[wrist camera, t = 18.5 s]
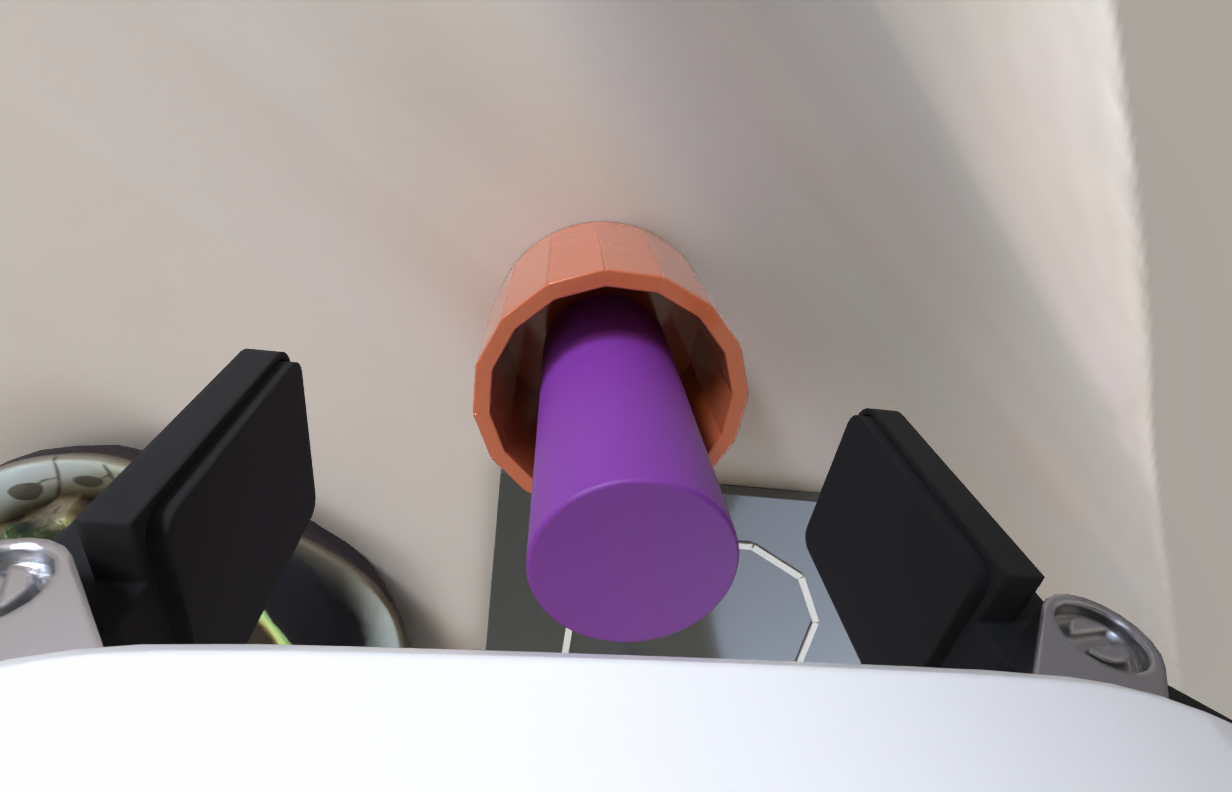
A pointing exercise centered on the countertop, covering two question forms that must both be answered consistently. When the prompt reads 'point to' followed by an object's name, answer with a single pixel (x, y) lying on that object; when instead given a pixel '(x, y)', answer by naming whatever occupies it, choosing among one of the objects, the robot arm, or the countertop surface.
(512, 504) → the slate board
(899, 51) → the countertop surface
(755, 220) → the countertop surface
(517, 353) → the pen pot
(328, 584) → the salad plate
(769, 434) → the countertop surface
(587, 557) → the cylinder
